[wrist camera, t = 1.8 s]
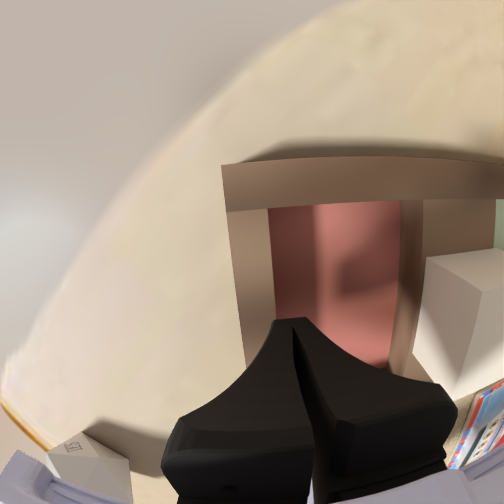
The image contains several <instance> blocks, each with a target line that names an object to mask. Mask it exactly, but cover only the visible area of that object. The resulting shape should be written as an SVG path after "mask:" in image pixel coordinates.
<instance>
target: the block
mask: <svg viewBox="0 0 504 504" xmlns="http://www.w3.org/2000/svg"><path fill="white" fill-rule="evenodd" d="M412 353H413V355H414V356H415V357H416V359H417V360H418V361H419V363H420V364H421V365H422V367H423V368H424V369H425V371H426V372H427V374H428V375H429V376H430V378H431V379H432V380H433V382H434V383H438V384H440V385H441V386H442V387H443V388H444V390H445V391H446V392H447V393H448V395H449V396H450V398H451V399H452V401H455V400H457V399H460V398H462V397H465V396H467V395H469V394H471V393H474V392H476V391H478V390H480V389H482V388H484V387H486V386H488V385H490V384H492V383H494V382H496V381H498V380H500V379H502V378H504V251H502V250H500V249H497V248H492V249H485V250H478V251H471V252H464V253H456V254H449V255H441V256H433V257H426V265H425V276H424V285H423V293H422V301H421V308H420V314H419V321H418V326H417V332H416V337H415V342H414V347H413V352H412Z"/></svg>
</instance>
